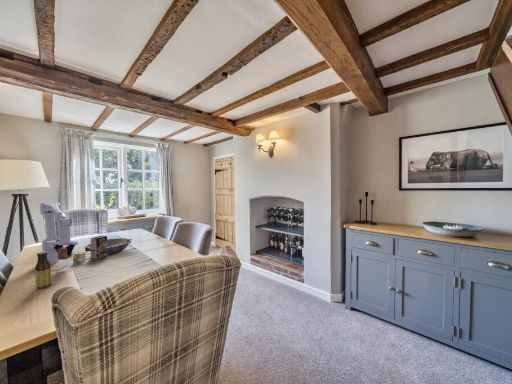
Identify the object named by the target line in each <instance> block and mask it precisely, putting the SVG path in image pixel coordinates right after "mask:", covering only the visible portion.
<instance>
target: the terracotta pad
mask: <svg viewBox="0 0 512 384" xmlns="http://www.w3.org/2000/svg"><path fill="white" fill-rule="evenodd" d="M50 267H51V271H59V270H61V269H63V268H65V267H66V266H56V265H53V266H50Z"/></svg>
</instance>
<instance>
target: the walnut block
mask: <svg viewBox="0 0 512 384" xmlns="http://www.w3.org/2000/svg"><path fill="white" fill-rule="evenodd" d="M70 258H73V254H71V255H70V256H68V251H67V248H66V246H63V247H62V248H60V249H58V260H61V261H63V260H64V261H65V260H69V259H70Z"/></svg>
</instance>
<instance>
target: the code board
mask: <svg viewBox="0 0 512 384" xmlns="http://www.w3.org/2000/svg"><path fill="white" fill-rule="evenodd" d="M90 261H91V259H85V262H83V263H81V264H73V259H65V260H64V261H63V262H62V261H61V262H60V263H58V264H56V265H55V266H66V267H65V268H63V269H61V270H59V271H51V273H57V272H58V273H59V272H60V273H61V272H62V273H63V272H64V273H65V272H72V271H73V270H75V269H77V268H80V267H82V266H83V265H84V264H86V263H89V262H90Z"/></svg>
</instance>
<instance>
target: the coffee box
mask: <svg viewBox="0 0 512 384" xmlns="http://www.w3.org/2000/svg"><path fill="white" fill-rule="evenodd" d="M103 248H107V249H108V236H107V235H97V236H95V237H91V238H90V259H96V260H97V259H100V258H103V257H105V256H108V253H107V254H106V253H105V252H104V251H102V250H101V249H103Z"/></svg>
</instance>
